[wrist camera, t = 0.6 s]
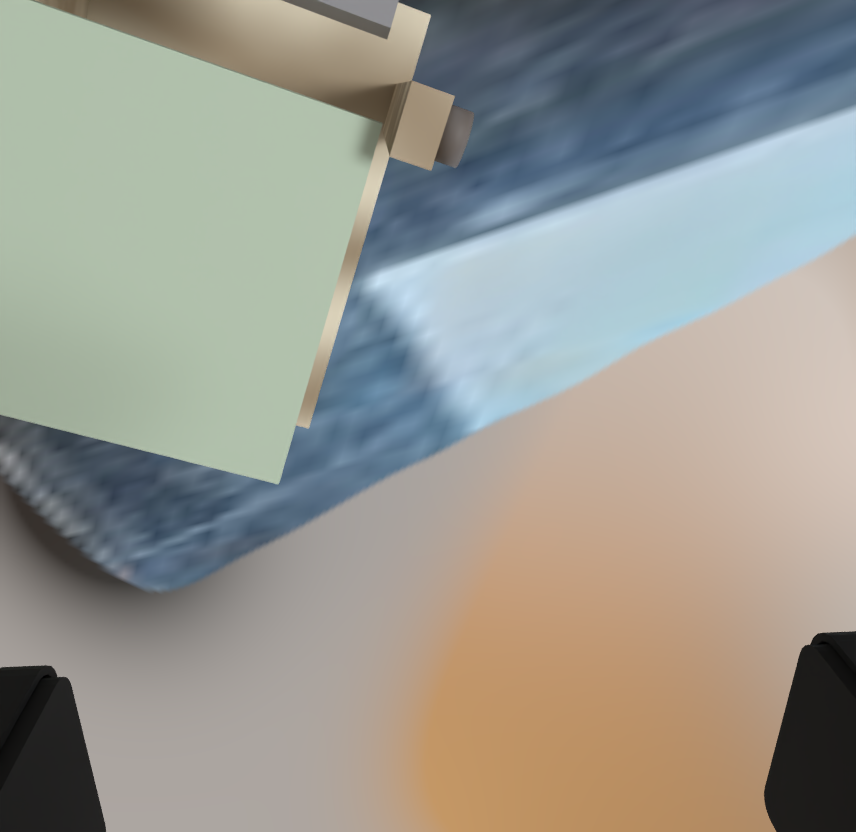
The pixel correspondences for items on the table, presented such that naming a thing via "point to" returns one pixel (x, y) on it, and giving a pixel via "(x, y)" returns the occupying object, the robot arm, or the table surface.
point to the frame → (312, 90)
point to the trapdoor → (168, 237)
